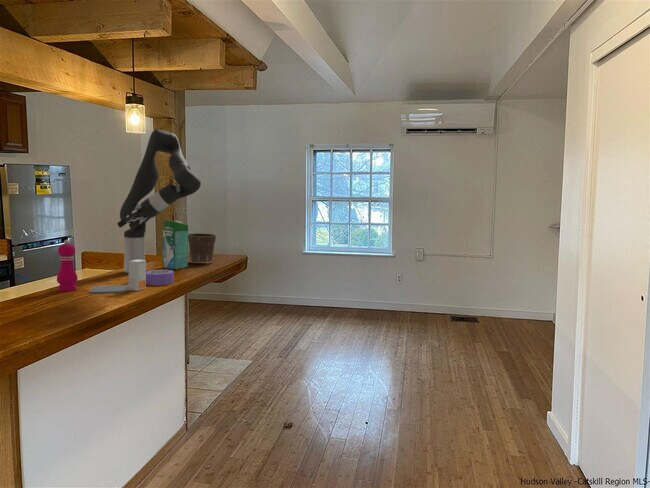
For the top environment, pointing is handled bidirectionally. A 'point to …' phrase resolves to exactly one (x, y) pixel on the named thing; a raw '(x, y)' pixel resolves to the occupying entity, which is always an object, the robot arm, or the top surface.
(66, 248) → the pepper mill
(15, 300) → the top surface
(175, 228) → the milk carton
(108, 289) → the mat
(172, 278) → the tape roll
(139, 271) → the skincare box
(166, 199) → the robot arm
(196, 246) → the plant pot
